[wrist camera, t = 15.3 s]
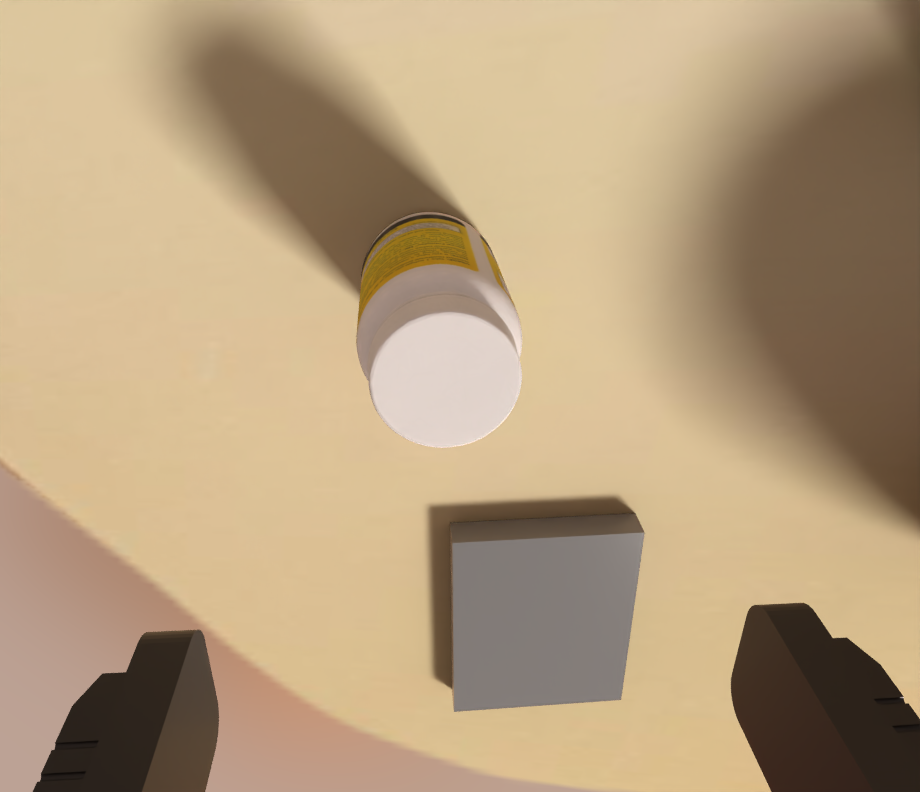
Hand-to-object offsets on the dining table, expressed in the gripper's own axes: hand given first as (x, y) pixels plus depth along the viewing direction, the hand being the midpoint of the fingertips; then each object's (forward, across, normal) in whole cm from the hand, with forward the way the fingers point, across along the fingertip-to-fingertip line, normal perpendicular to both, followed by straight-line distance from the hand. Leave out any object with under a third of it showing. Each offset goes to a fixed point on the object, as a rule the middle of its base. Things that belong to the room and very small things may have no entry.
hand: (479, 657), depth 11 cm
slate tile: (+17, -5, +11) cm, 21 cm away
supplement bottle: (+18, 0, 0) cm, 18 cm away
